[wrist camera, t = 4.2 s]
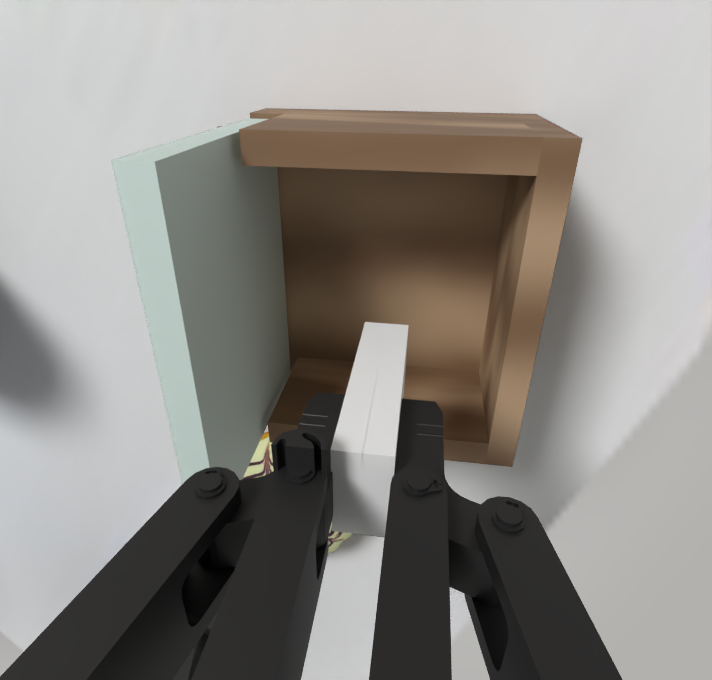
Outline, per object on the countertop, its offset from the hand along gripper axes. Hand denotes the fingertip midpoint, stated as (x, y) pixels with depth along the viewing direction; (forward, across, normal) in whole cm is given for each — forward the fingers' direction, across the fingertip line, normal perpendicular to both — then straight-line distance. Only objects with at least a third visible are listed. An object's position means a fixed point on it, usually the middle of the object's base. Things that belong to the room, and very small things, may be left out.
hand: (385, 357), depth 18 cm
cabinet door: (+9, +7, 0) cm, 11 cm away
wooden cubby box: (+11, +1, 0) cm, 11 cm away
